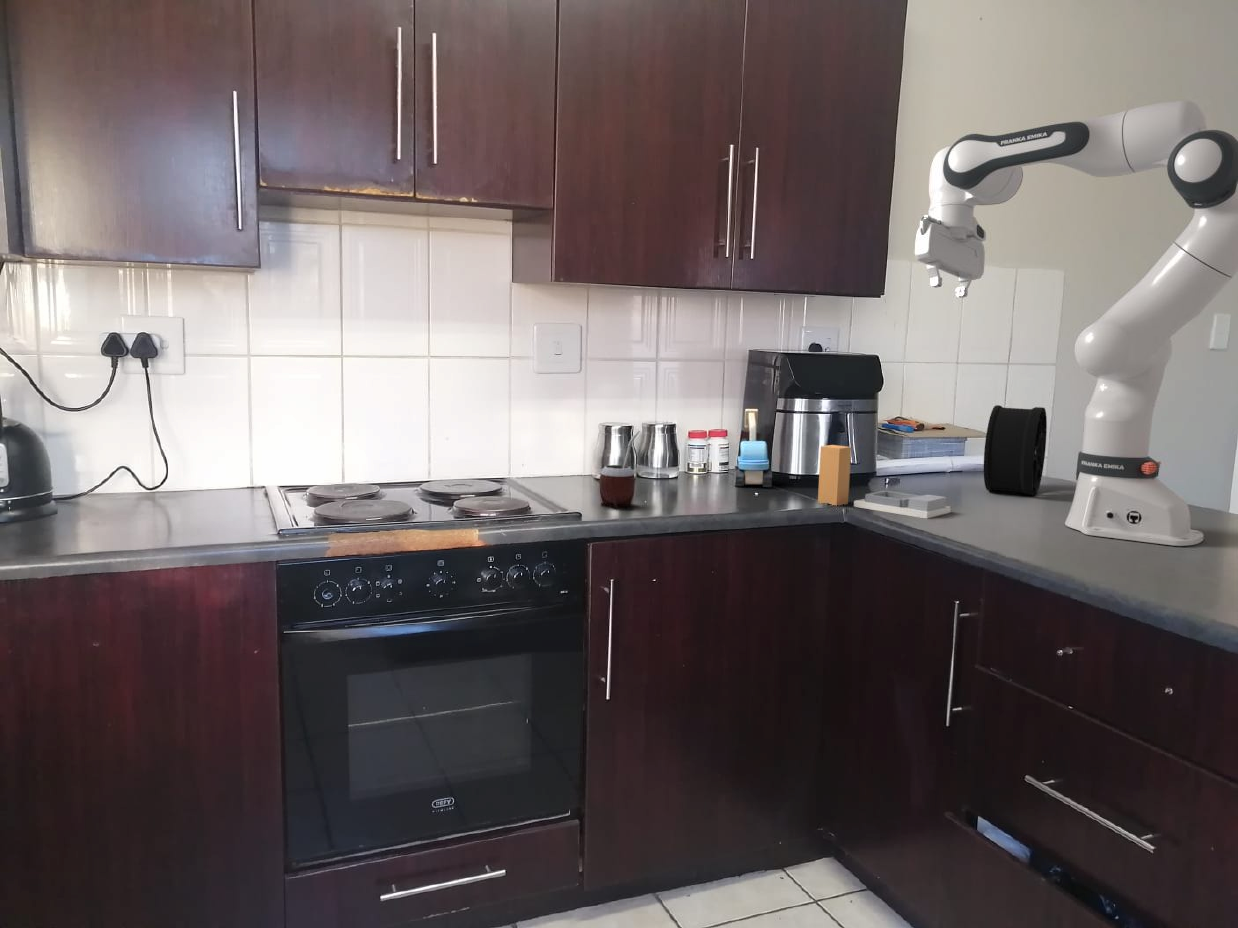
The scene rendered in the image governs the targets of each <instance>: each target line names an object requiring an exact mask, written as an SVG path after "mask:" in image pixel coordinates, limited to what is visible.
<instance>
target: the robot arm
mask: <svg viewBox="0 0 1238 928" xmlns="http://www.w3.org/2000/svg"><path fill="white" fill-rule="evenodd" d="M1039 164H1055V165H1061V166H1065V167H1068V168H1072V169H1074V170H1077V171H1079V172H1082V173H1085V174H1087V175H1089V176H1091V177H1096V178H1111V177H1121V176H1127V175H1131V174H1132V175H1133V174H1136V173H1140V172H1144V171H1148V170H1152V169H1157V168H1166V169H1167V170H1166V171H1167V176H1168V178H1169V180H1170V181H1169V182H1170V183H1171V185H1172V186H1173V188H1174V190H1176V192H1177V193H1178V194H1179V195H1180V196H1181V197H1182V199H1183V200H1184V202H1185V203H1186V204H1187V206H1188V207H1189V208H1190V209H1194V214H1193V217H1192V219H1191V220H1190V222H1189V223H1188V225H1187V226H1186V228H1185V229H1184V230H1183V231H1182V233H1180V235H1179V236H1178V237H1177V238H1176V239H1175V240H1174V241H1173V243H1172V244H1171V245H1170V246H1169V247H1168V249H1166V251H1165V252H1164V253H1163V254H1162V256H1160V258H1159V259H1158V261H1157V262H1156V263H1155V264H1154V265H1153V266H1152V267H1151V268H1150V270H1149V271H1148V272H1147V273H1146V275H1144V277H1143V278H1142V279H1141V280H1140V281H1139V282H1138V283H1137V284H1135V286H1133V287H1132V288H1131V289H1130V290H1129V291H1128V292H1127V293H1125V294H1124V295H1123V296H1122V297H1121V298H1120V299H1119V300H1117V301H1116V302H1115V303H1114V304H1113V305H1112V306H1111V307H1110V308H1109V309H1108V310H1107V311H1106V312H1105V313H1104V314H1103V315H1101V317H1099V318H1098V319H1097V320H1096V321H1094V322H1093V323H1091V324H1090V325H1089V326H1088V327H1086V328H1085V329H1083V330H1082V331H1081V332H1080V334H1079V335H1078V337H1077V339H1076V341H1075V344H1074V357H1075V360H1076V362H1077V364H1078V365H1079V367H1080V368H1081V369H1082V370H1084V371H1085V373H1088V374H1090V375H1091V376H1093V377H1095V378H1097V381H1096V384H1095V388H1094V390H1093V393H1092V396H1091V399H1090V401H1089V403H1088V404H1087V406H1086V408H1085V411H1084V417H1083V428H1082V439H1081V450H1080V451H1079V452H1078V453H1077V454H1078V455H1077V459H1076V467H1075V475H1076V477H1075V479H1076V480H1075V481H1076V486H1075V492H1074V495H1073V499H1072V503H1071V506H1070V509H1069V512H1068V515H1067V518H1066V520H1065V522H1064V525H1065V527H1068V528H1071V529H1074V530H1077V531H1079V532H1081V533H1083V534H1085V535H1088V536H1095V537H1101V538H1102V537H1103V538H1113V539H1118V540H1126V541H1127V540H1128V541H1134V542H1143V543H1150V544H1160V545H1166V546H1167V545H1168V546H1173V547H1174V546H1176V547H1185V546H1187V547H1188V546H1194V545H1198V544H1200V543H1202V542H1203V541H1204V533H1203V532H1202V531H1200V530H1196V529H1191V514H1190V512H1191V511H1190V508H1189V505H1188V503H1187V502H1186V501H1185V500H1184V499H1183V498H1181V497H1180V496H1179V495H1178V494H1176V493H1175V492H1174V491H1173V490H1172V489H1170V488H1169V487H1168V486H1167V485H1166V484H1164V483H1163V482H1162V481H1161V480H1160V479H1159V478H1158V477H1159V472H1160V468H1161V464H1162V462H1161V461H1157V460H1155V459H1153V458H1152V457H1150V455H1149V451H1150V449H1149V448H1150V441H1151V433H1152V431H1151V430H1152V423H1153V422H1152V421H1153V415H1154V412H1155V411H1154V410H1155V407H1156V403H1157V400H1158V396H1159V393H1160V389H1161V385H1162V382H1163V379H1164V376H1165V375H1164V374H1165V370H1166V367H1167V364H1168V363H1169V361H1170V359H1171V357H1172V354H1173V343H1172V340H1171V337H1172V336H1174V335H1175V334H1176V333H1177V332H1179V331H1180V330H1181V329H1182V328H1183V327H1184V326H1185V325H1187V324H1189V322H1191V321H1192V320H1194V319H1195V318H1197V317H1198V316H1199V315H1201V313H1202V312H1203V311H1204V310H1205V309H1206V308H1207V306H1208V305H1209V304H1210V303H1211V302H1212V301H1213V300H1214V298H1216V297H1217V295H1219V293H1220V292H1222V290H1223V288H1225V287H1226V285H1227V284H1228V283H1229V282H1230V281H1231V280H1232V279H1233V278H1234V276H1236V274H1237V273H1238V136H1236V135H1234V134H1231V133H1228V132H1226V131H1225V130H1218V129H1207V121H1206V116H1205V113H1204V112H1203V110H1202V109H1201V107H1200V106H1199V105H1198V104H1197V103H1195V102H1193V101H1191V100H1187V99H1186V100H1173V101H1171V100H1170V101H1165V102H1158V103H1157V102H1156V103H1152V104H1147V105H1143V106H1137V107H1135V108H1134V107H1133V108H1129V109H1126V110H1123V111H1122V110H1121V111H1119V112H1116V113H1112V114H1108V115H1107V114H1106V115H1102V116H1099V117H1098V116H1097V117H1095V118H1090V119H1083V120H1075V121H1069V122H1061V123H1054V124H1050V125H1049V124H1048V125H1045V126H1040V127H1034V128H1030V129H1024V130H1020V131H1015V132H1010V133H1005V134H1004V133H1003V134H1000V135H998V134H997V135H986V134H982V133H981V134H979V133H970V134H966V135H964V136H962V137H961V138H959V139H958V140H957V141H955V142H954V143H953V144H952V145H949V146H946V147H944V148H942V149H941V150H939V151H938V152H937V153H936V154H935V155H934V157H933V160H932V162H931V165H930V169H929V178H928V179H929V180H928V196H929V202H930V203H929V207H928V211H927V212H928V213H927V214H925V215H924V216H922V217H921V219H920V220H919V227H918V229H917V231H916V235H915V244H914V256H915V259H916V260H917V261H918V262H920V263H923V264H925V265H926V271H927V273H928V276H929V278H930V279H929V280H930V281H929V285H930V286H931V287H932V288H940V287H942V285H943V277H941V275H940V271H943V272H945V273H946V274H949V275H952V276H954V277H957V278H958V282H959V285H958V287H956V289H955V292H956V293H955V295H956V297H958V298H961V299H963V298H966V297H968V295H969V292H968V291H969V290H968V289H969V287H970V285H971V283H972V281H974V280H980V279H981V278H982V277H983V275H984V272H985V255H986V254H985V253H986V252H985V246H984V243H983V242H985V241H986V240H987V233H986V230H985V229H983V227H982V226H981V225H980V224H979V222H978V220H977V219H976V217H975V216H974V211H975V210H974V208H975V206H993V205H1000V204H1003V203H1005V202H1007V201H1010V199H1012V198H1013V197H1014V196H1015V195H1016V194H1017V192H1019V189H1020V187H1021V185H1022V182H1023V179H1024V178H1023V177H1024V172H1023V168H1022V167H1026V166H1031V165H1039Z"/></svg>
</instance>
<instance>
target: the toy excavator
mask: <svg viewBox="0 0 1238 928" xmlns="http://www.w3.org/2000/svg"><path fill="white" fill-rule="evenodd" d="M758 417H759V409H758V408H745V410H744V429H748V430H749V431H748V432H749V438H748V439H749V440H743V441H741V442H740V446H739V447H740V449H739V450H740V456H739V455H738V457H737V465H735V466H734V474H733V478H734V487H735V488H736V487H737V488H738V487H740V488H742V487H744V486H745V485H762V487H763V488H771V487H772V484H773V481H772V480H773V471H772V467H771V466H770V460H769V458H768V445H767V442H766V441H764V440H757V429H758V421H759V420H758V419H759V418H758Z"/></svg>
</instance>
